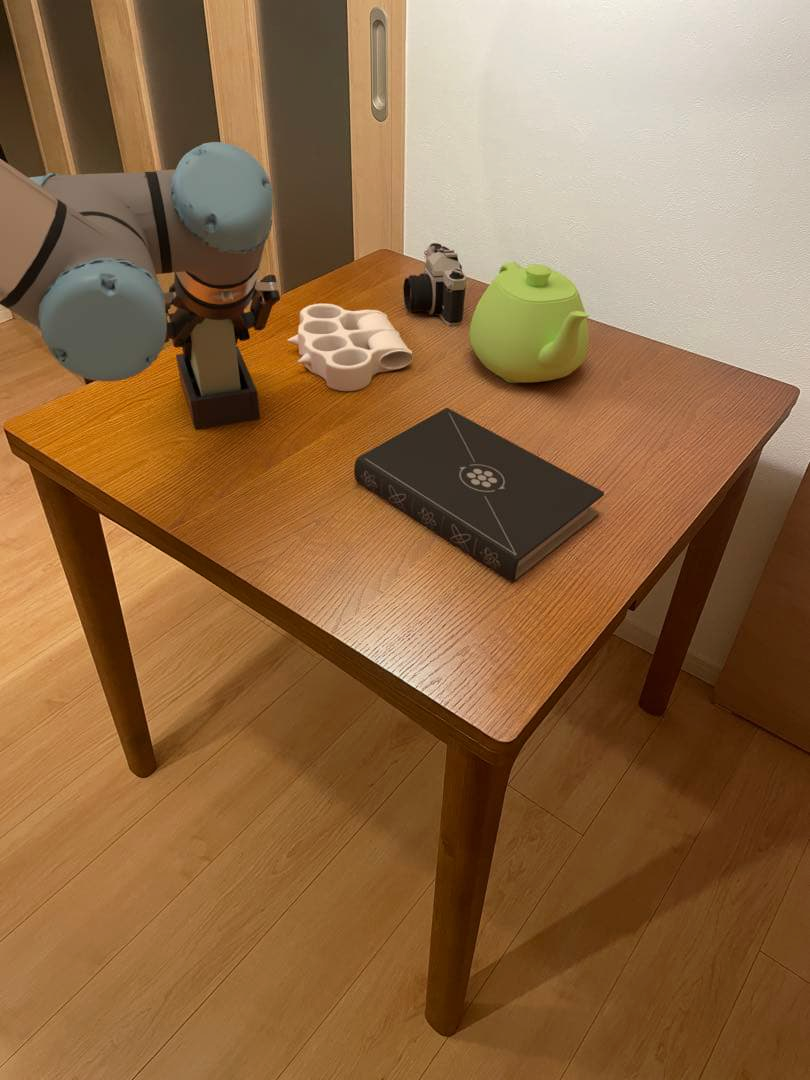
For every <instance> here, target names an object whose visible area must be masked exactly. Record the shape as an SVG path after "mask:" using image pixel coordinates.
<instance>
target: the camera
mask: <svg viewBox="0 0 810 1080" xmlns="http://www.w3.org/2000/svg"><path fill="white" fill-rule="evenodd" d="M423 254H424V257H423V258H424V259H425V263H424V267H423V268H424V270H423V272H422V273H420V274H419V275H417V274H411V275H409V276H408V277H406V278H405V279H404V280H403V300H404V305H405V308H406V309H407V311H411V312H412V313H415V312H419V311H421V312H422V313H428V314H429V316H439V317H440V318H441V320H442V321H443V324H446V325H447V326H451V327H452V326H460V325H462V323H463V319H464V309H465V300H466V299H465V298H466V289H467V280H468V279H467V278H468V277H467V275H466V274H465V272H464V271H463V265H461V263H460V261H459V256H458V253H457V252H455V249H450V248H448V247H447V246H445V245H442V244H440V243H437V242H433V243H430V244H429V245H428V246H427V248H426V250H424V252H423Z"/></svg>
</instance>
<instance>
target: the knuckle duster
mask: <svg viewBox="0 0 810 1080" xmlns="http://www.w3.org/2000/svg"><path fill="white" fill-rule="evenodd" d="M286 341H287V342H289V343H291V344H293V345H295V346H297V347H298V354H299V355H300V356H301V357H300V358H299V359H298V360H297V361H296V363H299V364H302V365H304V366H305V368H306V369H307V370H308V371H309V372H310V373H311V374H313V375H317V376H319V377H321V378H322V379H323V380H325V386H326V387H328V388H329V389H332V390H334V391H339V392H356V391H359V390H362V389H364V388H366V387H368V386H369V385H370V383H371V382H372V379H373V377H374V376H375V375H377V374H379V373H386V372H391V371H395V370H399V369H400V370H401V369H402V368H405V367H407V366H409V365H410V364H411V363H412V362H413V360H414V355H413V351H412V350H411V349H410V348H408V346H407V345H406V343H405V342H404V340H403V339H402V337H401V336H400V332H399V331H398V330H396V329H395V327H394V326H393V324H392V323H391V321H390V320H389V317H388V315H387V314H386V313H384V312H382V311H381V310H378V309H362V310H354V311H353V310H348V309H344V308H343V307H341V306H340V305H337V304H333V303H313V304H310V305H307V306H305V307H304V308H302V309H301V310H300V312H299V324H298V329H297V334H296V335H293V336H292V337H290V338H288V339H286Z"/></svg>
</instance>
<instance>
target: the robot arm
mask: <svg viewBox="0 0 810 1080" xmlns="http://www.w3.org/2000/svg"><path fill="white" fill-rule="evenodd" d="M273 194H274V192H273V187H272V183H271V181H270V178H269V176H268V174H267V172H266V170H265V168H264V167H263V166H262V164H261V163H260V162H259V161H258V160H257V159H256V158H255V157H254V156H253V155H252V154H250V153H249V151H247V150H245V149H243V148H241V147H240V146H237V145H235V144H231V143H228V142H221V141H211V142H205V143H201V145H198V146H196V147H194V148H192V149H191V150H190V151H188V152H186V153H185V154H184V155H183V156H182V157H181V159H180V160H179V162H178V164H177V166H176V167H175V169H160V170H159V169H158V170H154V171H138V172H137V171H136V172H133V171H132V172H108V173H106V172H105V173H82V174H81V173H79V174H60V173H55V172H50V173H46V174H45V175H39V176H30V177H28V176H26V175H25V174H23V173H22V172H20V171H19V170H17V169H16V168H15V167H13V166H12V165H10V164H9V163H7V162H6V161H5V160H3V159H1V158H0V306H2V307H4V308H5V309H7V310H9V311H11V312H13V313H14V314H16V315H17V316H19V317H20V318H23V319H24V320H26V321H28V322H30V323H31V324H33V325H35V326H37V328H38V329H39V331H40V333H41V336H42V339H43V341H44V343H45V345H46V347H47V349H48V350H49V352H50V354H51V355H52V356H53V357H54V358H55V360H56V361H57V362H58V363H59V364H60V365H61V366H62V367H63V368H64V369H66V370H67V371H69V372H70V373H73V374H74V375H76V376H79V377H82V378H83V379H86V380H92V381H96V382H119V381H120V382H121V381H124V380H127V379H131V378H133V377H135V376H137V375H139V374H141V373H143V372H145V370H147V369H148V368H149V367H151V365H152V364H153V363H154V362H155V361H157V360H158V357H159V355H160V354H161V352H162V350H163V348H164V345H165V344H166V343H169V341H170V340H172V344H173V348H176V349H177V348H181V349H182V354H184V359H185V360H191V351H192V340H191V336H190V333H191V332H192V331H193V329H194V328H195V326H196V325H197V324H202V322H203V321H204V320H205V318H207V319H211V320H225V319H229V320H231V321H232V323H233V325H234V333H235V342H236V346H238V345H237V344H238V340H239V341H241V342H244V341H249V340H250V339H251V335H250V332H249V331H250V330H249V329H252V328H253V330H254V331H263V330H264V329H266V326H267V323H268V320H269V317H270V315H271V312H272V309H273V306H274V305H276V304H277V303H279V301H281V296H280V290H279V286H278V281H277V277H276V275H275V274H268V275H265V276H263V277H262V279H258V276H259V271H260V267H261V263H262V258H263V253H264V249H265V245H266V242H267V240H268V237H269V235H270V234H271V230H272V225H273V219H272V217H273V207H274V205H273V204H274V195H273ZM172 273H174V282H173V283H172V284H171V285H170V286H169V289H168V291H167V292H165V291H163V288H162V286H161V284H160V281H159V279H158V276H157V275H165V274H172ZM249 305H250V306H249ZM171 306H173V307H175V308H176V310H175V311H174V312H172V313H169V310H170V309H171V308H172V307H171ZM248 306H249V311H248V312H245V310H246V308H247V307H248ZM168 317H169V321H168Z"/></svg>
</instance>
